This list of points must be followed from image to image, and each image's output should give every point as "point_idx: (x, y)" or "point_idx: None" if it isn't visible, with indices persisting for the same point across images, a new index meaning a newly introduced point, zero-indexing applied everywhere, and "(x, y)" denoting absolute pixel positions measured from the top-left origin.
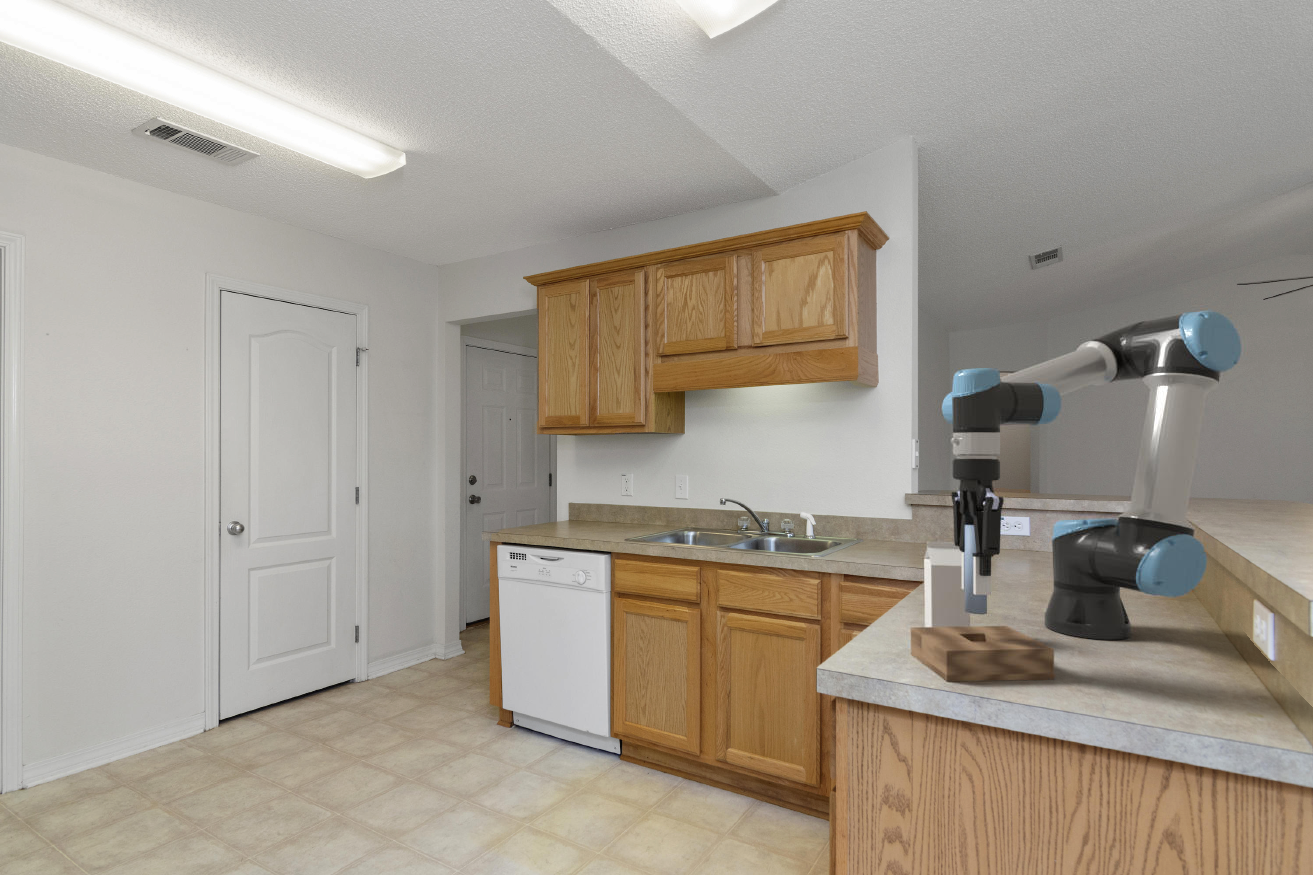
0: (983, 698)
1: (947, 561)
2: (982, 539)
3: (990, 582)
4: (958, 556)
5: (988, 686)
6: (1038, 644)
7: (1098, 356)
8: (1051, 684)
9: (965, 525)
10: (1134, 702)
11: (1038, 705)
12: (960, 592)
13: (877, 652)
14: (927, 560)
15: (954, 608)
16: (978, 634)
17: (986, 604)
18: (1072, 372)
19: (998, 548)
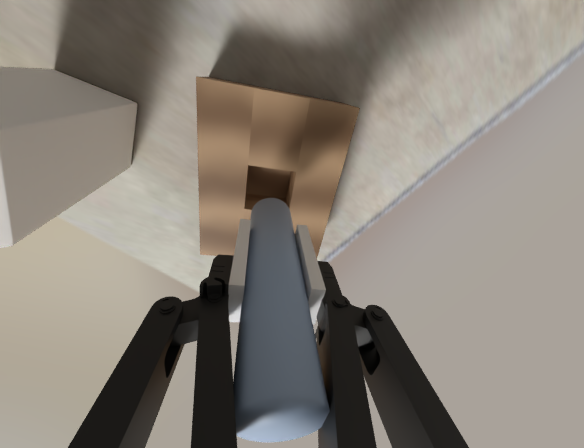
0: (361, 232)
1: None
2: (368, 382)
3: (311, 242)
4: None
5: (336, 207)
6: (330, 115)
7: None
8: (357, 125)
9: (261, 441)
10: (452, 60)
11: (399, 193)
12: (72, 140)
13: (196, 262)
14: None
15: (99, 145)
16: (246, 174)
17: (288, 213)
18: None
19: (392, 327)
